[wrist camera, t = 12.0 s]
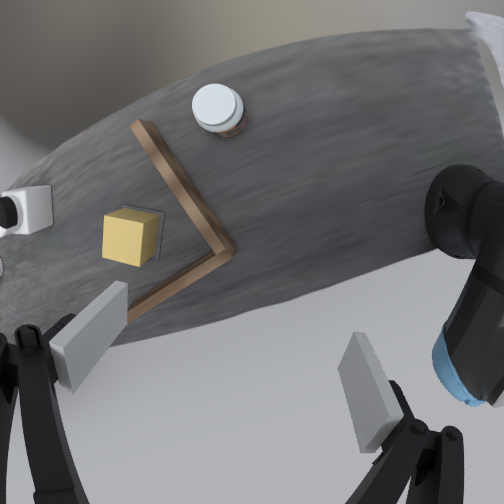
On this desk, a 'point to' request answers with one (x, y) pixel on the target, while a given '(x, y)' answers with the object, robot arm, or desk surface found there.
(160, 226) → the mat
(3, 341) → the robot arm
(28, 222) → the medicine bottle
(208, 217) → the angled wooden barrier
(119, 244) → the cube
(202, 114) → the pill bottle
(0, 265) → the white cup
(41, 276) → the desk surface
